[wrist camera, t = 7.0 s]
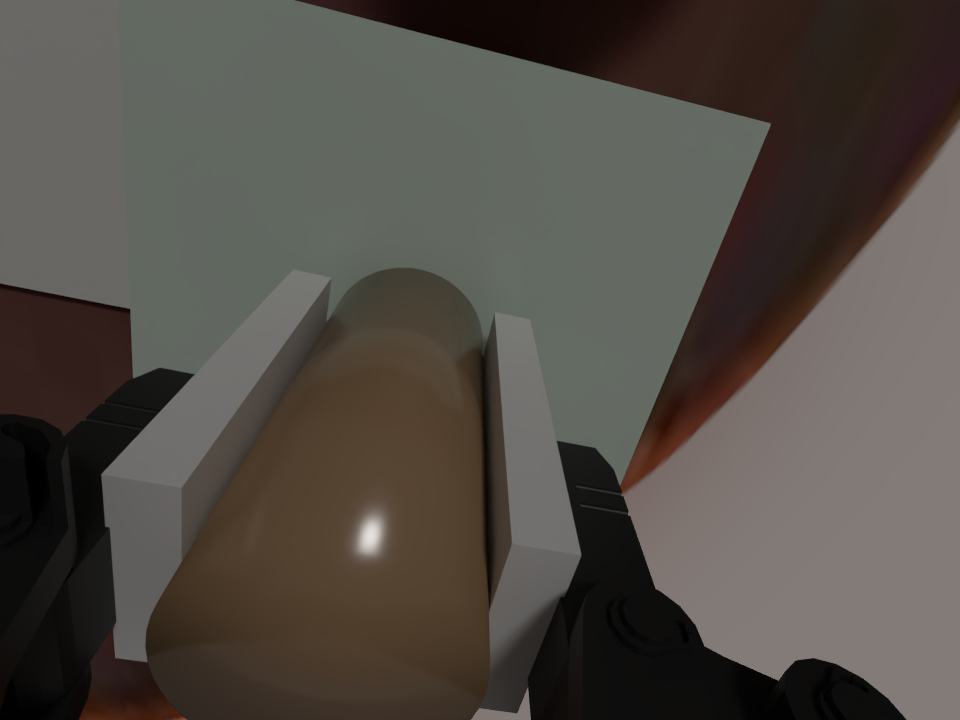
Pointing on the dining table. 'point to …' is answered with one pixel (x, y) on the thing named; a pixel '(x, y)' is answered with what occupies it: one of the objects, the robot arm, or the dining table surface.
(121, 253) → the mat
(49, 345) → the dining table surface
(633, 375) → the lid
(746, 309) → the dining table surface
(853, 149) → the dining table surface
